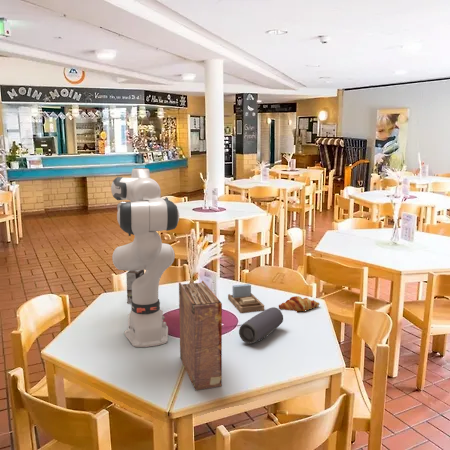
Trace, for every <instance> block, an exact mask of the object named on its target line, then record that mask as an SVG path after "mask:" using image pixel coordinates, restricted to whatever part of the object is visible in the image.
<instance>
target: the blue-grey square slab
mask: <svg viewBox="0 0 450 450" xmlns="http://www.w3.org/2000/svg"><path fill="white" fill-rule="evenodd" d="M251 293H252V285H251V284H250V283H245V284H237V285H232V295H233V298H236V297H246V296H251Z"/></svg>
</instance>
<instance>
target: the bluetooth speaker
mask: <svg viewBox="0 0 450 450" xmlns="http://www.w3.org/2000/svg"><path fill="white" fill-rule="evenodd" d="M283 322H284V315H283V312H282V311H281V309H280V308H279V307H275V306H273V307H269V308H267V309H264V311H260V312H258V313H257V314H256V315H253V316H252V317H251V318H250V319H248V320H246V321H245V322H243V324H241V326H239V330H238V334H239V338H240V339H241V341H243V342H244V343H245V344H249V345H251V344H254V343H256V342H260V341H262V340H263V339H265V338H266V337H268V336H269V335H270V334H271V333H272V332H273V331H275V330H276V329H277V328H278V327H279V326H281V325H282V323H283ZM267 335H268V336H267ZM264 337H265V338H264ZM261 339H262V340H261ZM259 340H260V341H259Z"/></svg>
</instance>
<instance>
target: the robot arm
mask: <svg viewBox="0 0 450 450" xmlns="http://www.w3.org/2000/svg"><path fill="white" fill-rule="evenodd" d="M130 175H131V176H130V177H123V176H117V177H115V178H114V179H113V180H112V183H111V187H110V190H111V194H112V197H113V198H114V199H115V200H117V201H120V202H119V203H117V206H116V210H117V212H116V220H117V224H118V225H119V228H120V229H121V230H122V231H123V232H125V233H127V234H128V237H131V235H132V236H134V238H133V241H131V242H129V243H127V244H124V245H121V246H119V245H118V246H117V247H116V248H115V249H114V250H113V251H112V252H113V253H112V255H111V256H112V257H111V258H112V264H113V265H114V267H115V268H116V269H117V270H118V271H119V270H120V271H125V272H126V271H127V272H128V271H134V270H144V274H143V275H142V276H140V277H139V278H137V279H136V280H135V281H134V282H133V284H132V301H131V303H130V307H131V308H130V309H131V311H130V312H129V313H128V315H127V317H128V318H127V321H128V324H127V325H128V326H127V328H128V329H126V330H124V333H123V334H124V336H126V338H127V340H129V343H131V345H132V346H133V347H134V348H146V347H147V348H148V347H156V346H160V345H164V344H166V343H167V344H168V337H169V336H168V335H169V327H168V325H167V322H166V321H164V320H166V319H165V316H164V314H163V313H164V311H163V310H162V309H161V302H160V298H159V288H160V287H159V285H160V281H161V278H162V276H163V274H164V272H165V271H166V270H168V268H169V267H171V266H172V264H173V263H174V261H175V259H176V258H175V257H176V255H175V250H174V248H173V246H172V245H171V244H169V243H164V242H162V241H163V240H162V237H161V236H160V234H159V233H158V232H163V231H167V232H169V231H172V230H175V229H176V228H177V227H178V224H179V221H180V212H179V209H178V206H177V205H176V204H175V203H174V202H173V201H171V200H169V197H166V196H165V198H162V197H161V196H162V190H161V186H160V184H159V183H158V182H157V181H156V180H155V179H153V178H151V173H150V169H149V168H148V167H133V168H132V170H131V174H130ZM123 200H124V201H123Z"/></svg>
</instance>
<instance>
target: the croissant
mask: <svg viewBox="0 0 450 450" xmlns="http://www.w3.org/2000/svg"><path fill="white" fill-rule="evenodd" d="M319 306H320V302H318V301H316V300H314V299H313V300H312V299H309V298H308V297H301V296H297V295H296V296H291V297H290V298H289V299H287V300H286V301H284V302H282V303H280V304H278V309H279V310H284V311H295V312H296V311H304V312H306V311H305V310H308V311H309V309H311V310H313V309H316V308H318V307H319ZM315 307H316V308H315ZM312 308H313V309H312Z"/></svg>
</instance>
